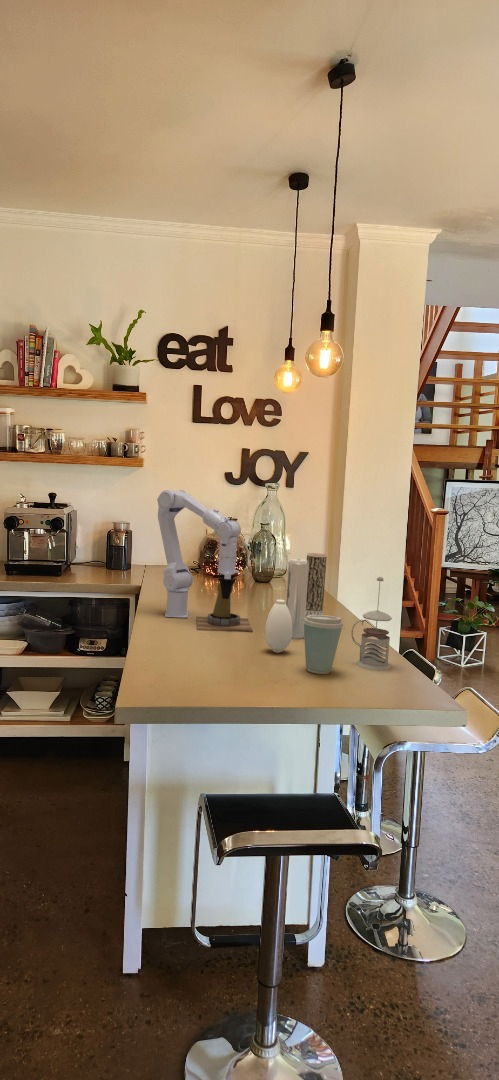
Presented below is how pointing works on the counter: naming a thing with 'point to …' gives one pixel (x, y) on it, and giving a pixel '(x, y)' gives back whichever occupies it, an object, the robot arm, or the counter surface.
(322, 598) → the grey patterned cylinder
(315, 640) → the disposable coffee cup
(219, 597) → the cork
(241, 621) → the walnut mat
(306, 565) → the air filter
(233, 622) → the collar
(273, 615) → the white vase
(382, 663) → the french press
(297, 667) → the counter surface
